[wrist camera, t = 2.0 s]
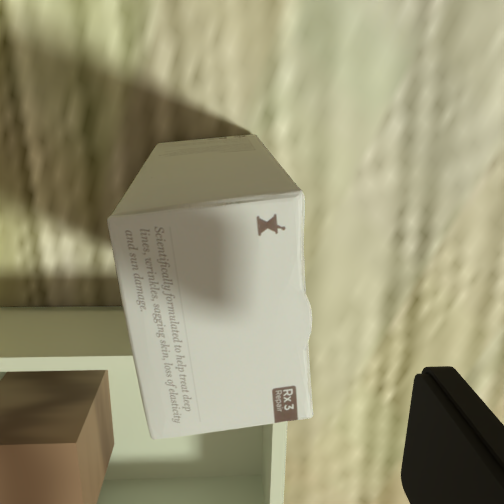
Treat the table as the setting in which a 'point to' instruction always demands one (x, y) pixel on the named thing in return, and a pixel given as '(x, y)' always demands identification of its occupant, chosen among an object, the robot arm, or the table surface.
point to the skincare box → (215, 287)
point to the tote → (134, 420)
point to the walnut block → (54, 436)
